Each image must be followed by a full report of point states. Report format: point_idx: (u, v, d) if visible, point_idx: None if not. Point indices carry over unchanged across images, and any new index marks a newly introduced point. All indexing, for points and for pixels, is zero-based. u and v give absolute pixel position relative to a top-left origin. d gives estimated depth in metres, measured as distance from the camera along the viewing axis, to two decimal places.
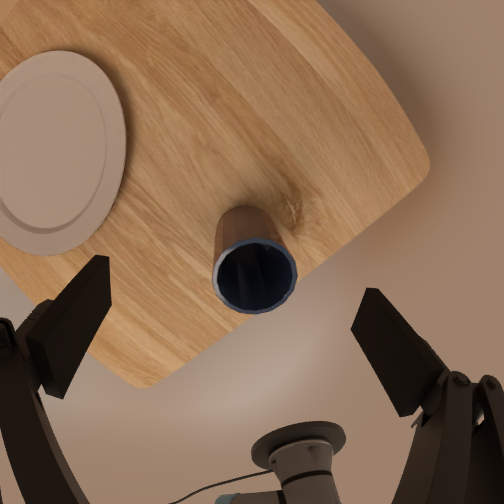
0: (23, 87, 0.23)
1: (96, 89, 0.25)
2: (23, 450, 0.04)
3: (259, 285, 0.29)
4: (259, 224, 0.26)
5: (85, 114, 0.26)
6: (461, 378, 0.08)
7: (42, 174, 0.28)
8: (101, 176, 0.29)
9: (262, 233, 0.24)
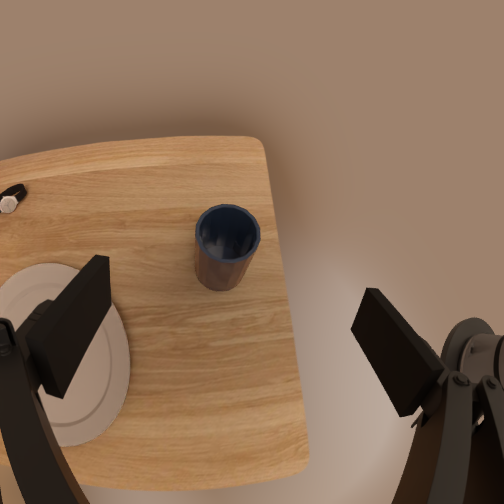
0: None
1: (54, 277, 0.34)
2: (23, 450, 0.04)
3: None
4: None
5: None
6: (461, 378, 0.08)
7: None
8: (102, 324, 0.34)
9: None
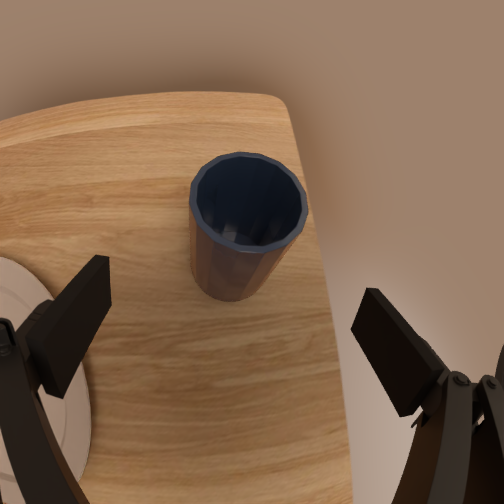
0: None
1: None
2: (23, 450, 0.04)
3: None
4: None
5: (1, 311, 0.20)
6: (461, 378, 0.08)
7: None
8: None
9: None
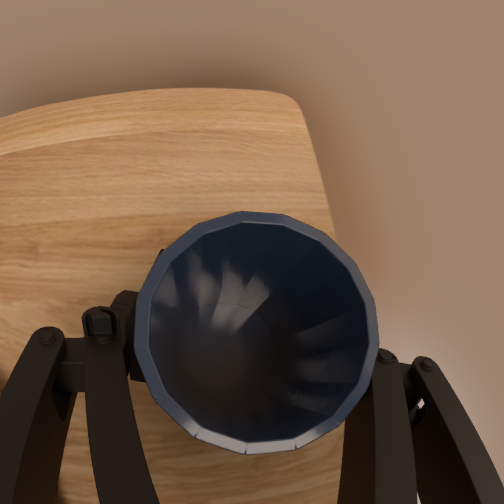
0: None
1: None
2: (108, 437, 0.05)
3: (312, 363, 0.11)
4: None
5: None
6: (385, 355, 0.09)
7: None
8: None
9: None
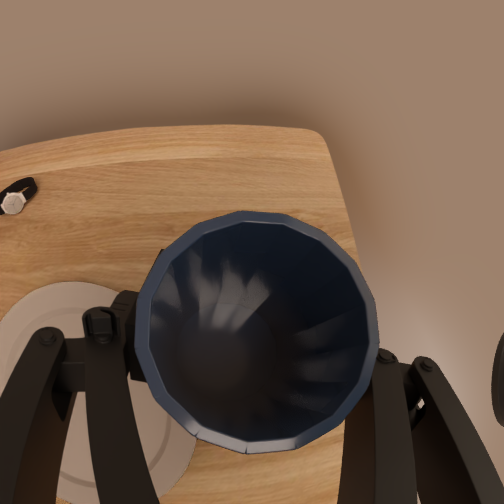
0: (12, 361, 0.23)
1: (80, 301, 0.27)
2: (108, 437, 0.05)
3: (312, 363, 0.11)
4: None
5: None
6: (384, 355, 0.09)
7: None
8: None
9: None
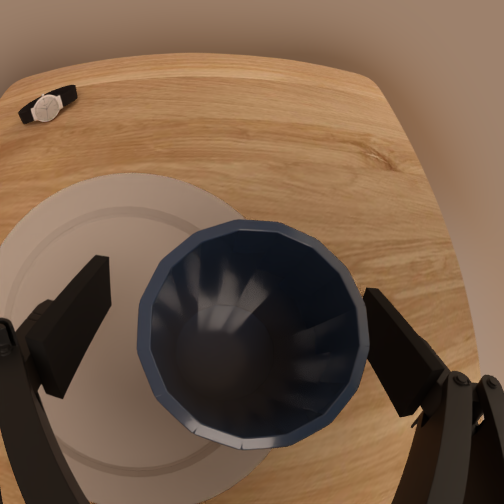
0: (19, 288, 0.18)
1: (133, 197, 0.22)
2: (23, 450, 0.04)
3: (307, 364, 0.12)
4: None
5: (141, 240, 0.22)
6: (461, 378, 0.08)
7: None
8: None
9: None
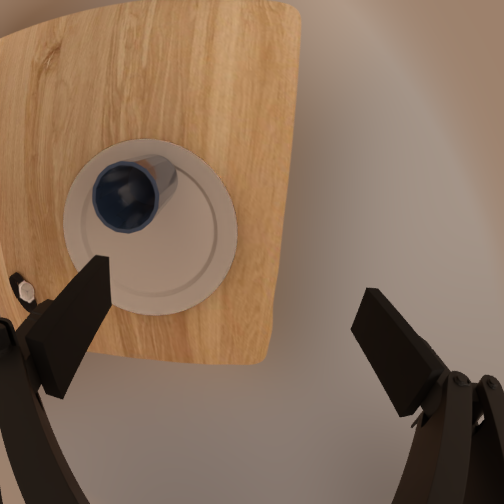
0: (126, 287, 0.42)
1: (76, 223, 0.37)
2: (23, 450, 0.04)
3: None
4: None
5: (97, 217, 0.38)
6: (461, 378, 0.08)
7: (156, 216, 0.39)
8: None
9: None
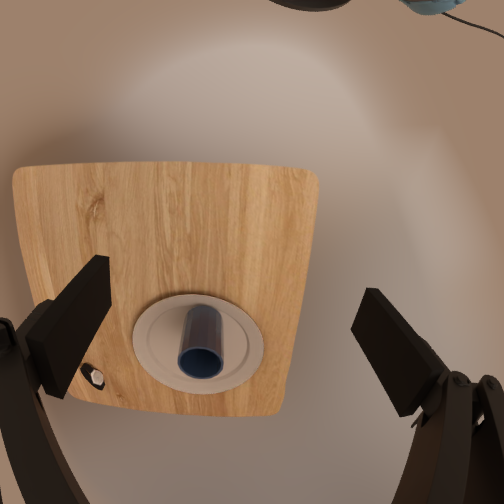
0: (181, 376, 0.58)
1: (142, 341, 0.52)
2: (23, 450, 0.04)
3: None
4: None
5: (159, 336, 0.54)
6: (461, 378, 0.08)
7: None
8: (172, 308, 0.51)
9: None
